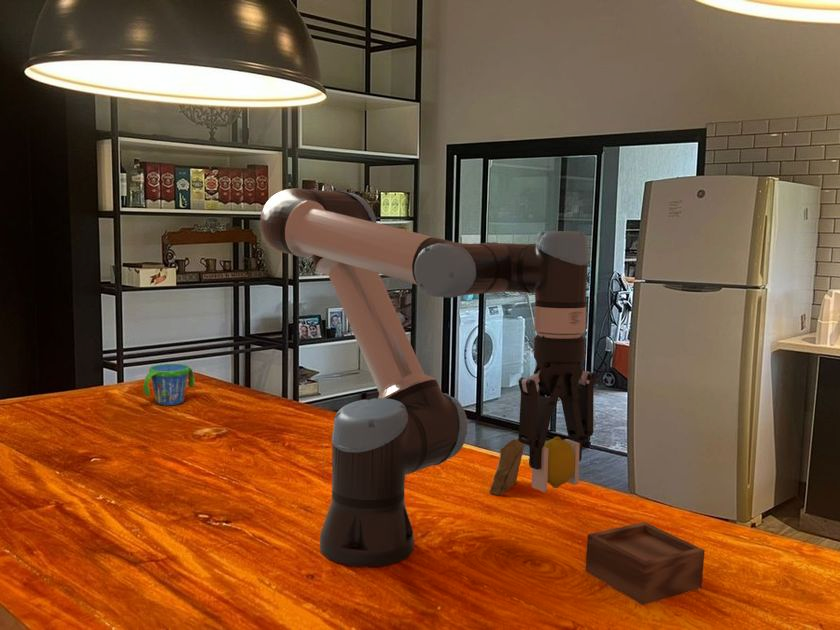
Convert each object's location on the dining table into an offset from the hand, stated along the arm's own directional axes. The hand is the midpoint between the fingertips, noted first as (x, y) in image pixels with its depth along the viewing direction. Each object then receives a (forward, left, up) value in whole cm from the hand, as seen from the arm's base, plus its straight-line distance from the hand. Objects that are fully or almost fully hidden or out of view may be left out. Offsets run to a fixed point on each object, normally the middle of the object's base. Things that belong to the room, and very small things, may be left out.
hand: (555, 485), depth 120 cm
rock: (+17, +34, -14) cm, 40 cm away
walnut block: (+10, -9, -14) cm, 20 cm away
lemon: (0, 0, -1) cm, 1 cm away
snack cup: (-22, +132, -14) cm, 134 cm away
